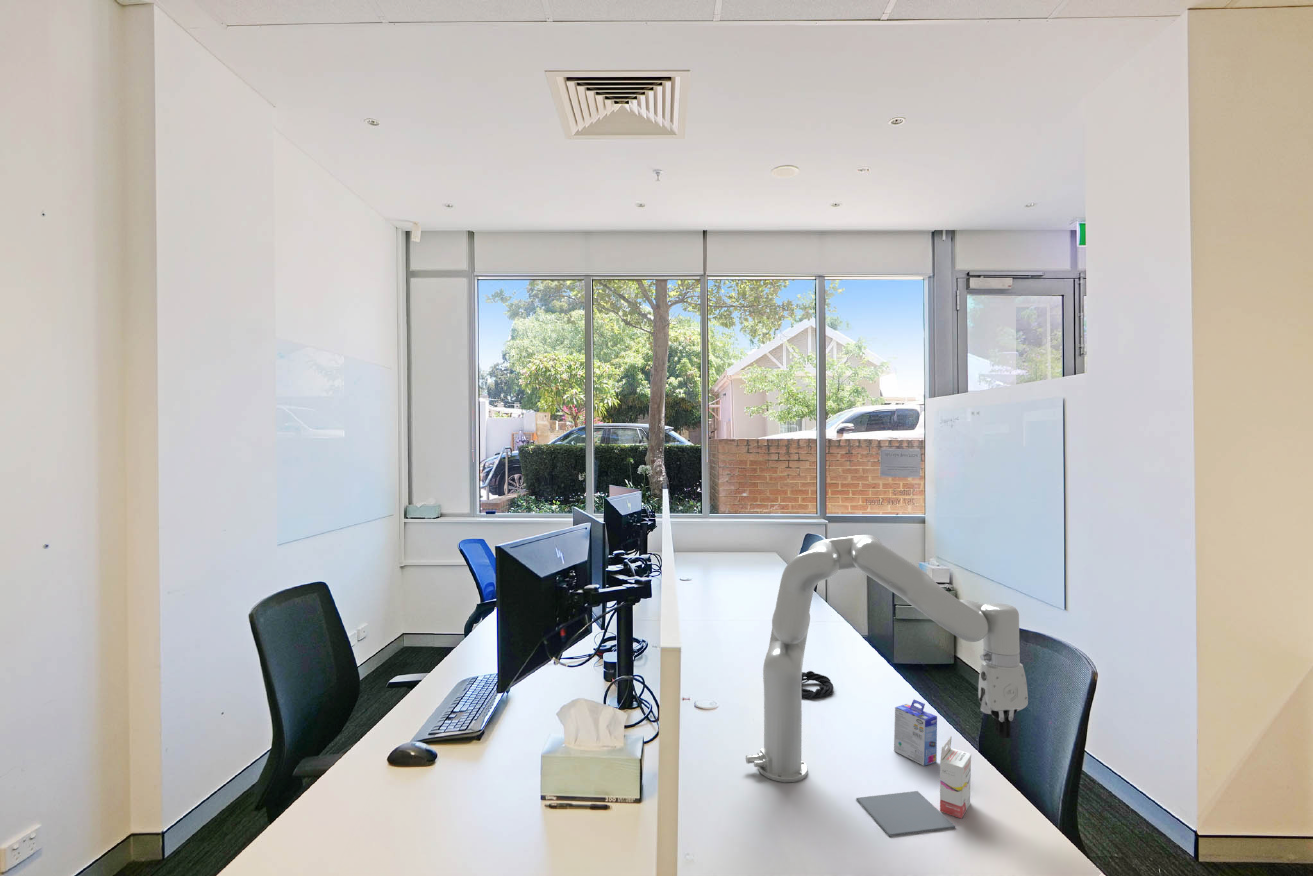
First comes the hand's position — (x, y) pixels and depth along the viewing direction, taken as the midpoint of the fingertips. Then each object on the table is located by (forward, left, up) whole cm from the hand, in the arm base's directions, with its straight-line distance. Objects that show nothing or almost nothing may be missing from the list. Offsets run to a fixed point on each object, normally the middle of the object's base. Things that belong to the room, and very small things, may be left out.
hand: (1002, 735), depth 149 cm
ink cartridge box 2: (-12, 0, -16) cm, 20 cm away
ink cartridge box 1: (-7, +23, -16) cm, 29 cm away
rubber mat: (-25, 0, -16) cm, 30 cm away
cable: (-15, +70, -16) cm, 74 cm away
